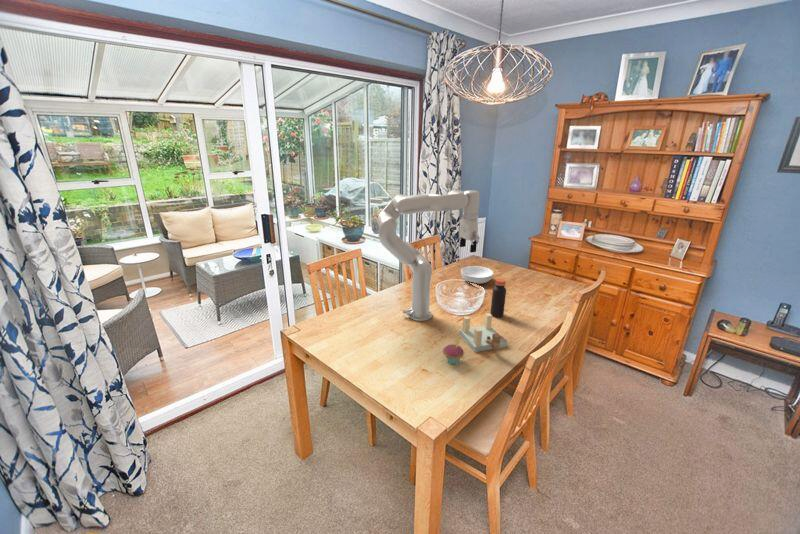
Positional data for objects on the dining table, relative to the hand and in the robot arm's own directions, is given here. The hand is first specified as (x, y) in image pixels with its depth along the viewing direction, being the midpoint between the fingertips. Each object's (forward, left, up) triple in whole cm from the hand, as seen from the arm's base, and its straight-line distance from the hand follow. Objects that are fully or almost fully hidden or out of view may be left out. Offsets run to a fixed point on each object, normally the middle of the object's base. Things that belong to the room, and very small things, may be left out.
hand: (467, 249), depth 178 cm
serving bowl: (+28, +38, -36) cm, 60 cm away
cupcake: (-24, -40, -36) cm, 59 cm away
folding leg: (-4, -37, -33) cm, 50 cm away
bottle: (+16, -8, -36) cm, 40 cm away
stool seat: (-4, -28, -36) cm, 46 cm away
